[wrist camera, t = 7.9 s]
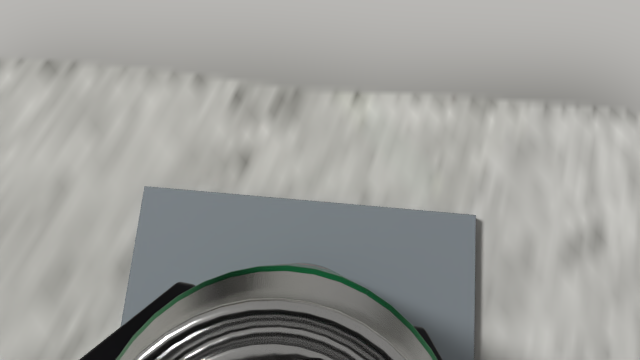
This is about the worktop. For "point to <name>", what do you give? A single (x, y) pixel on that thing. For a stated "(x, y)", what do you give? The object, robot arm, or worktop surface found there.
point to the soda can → (278, 320)
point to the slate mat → (313, 252)
